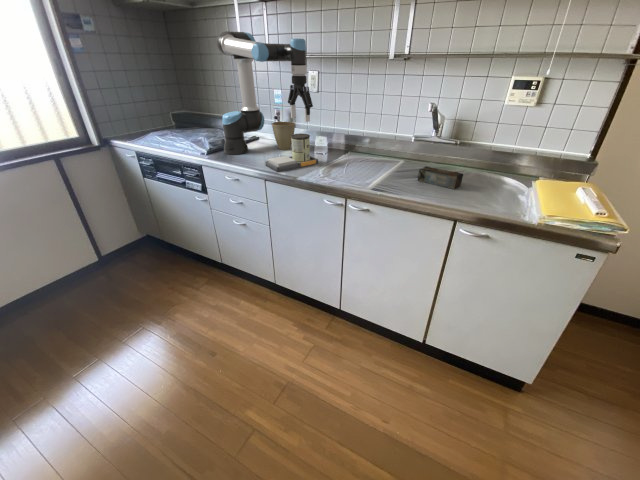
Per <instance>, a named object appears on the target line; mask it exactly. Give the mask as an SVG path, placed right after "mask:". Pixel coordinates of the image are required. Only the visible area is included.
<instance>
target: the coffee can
mask: <svg viewBox="0 0 640 480" xmlns="http://www.w3.org/2000/svg"><path fill="white" fill-rule="evenodd" d="M310 137H311V136H310V134H308V133H294V134H293V135H291V140H292V144H291V157H292V159H294V160H296V162H298V163H300V162H305V161H309V160H310V156H311V152H310V151H311V150H310V149H311V148H310V147H311V146H310V145H311V142H310V141H311V140H310Z"/></svg>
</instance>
